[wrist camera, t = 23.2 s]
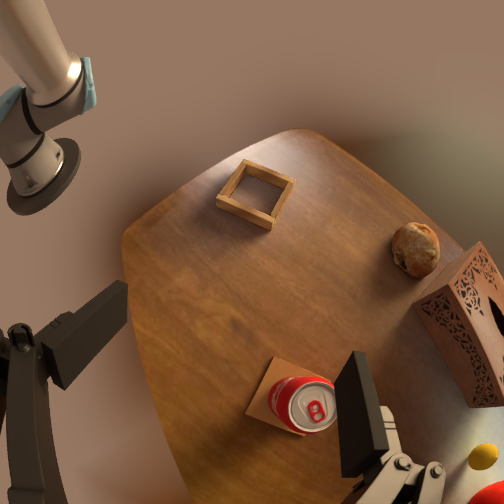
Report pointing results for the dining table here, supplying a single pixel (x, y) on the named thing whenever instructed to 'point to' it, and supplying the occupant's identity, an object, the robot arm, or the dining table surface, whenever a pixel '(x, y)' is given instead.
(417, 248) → the bread roll
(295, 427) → the beverage can
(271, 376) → the cork mat
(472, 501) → the apple
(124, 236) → the dining table surface
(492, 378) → the tissue box cover
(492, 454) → the lemon
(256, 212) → the square wooden frame
